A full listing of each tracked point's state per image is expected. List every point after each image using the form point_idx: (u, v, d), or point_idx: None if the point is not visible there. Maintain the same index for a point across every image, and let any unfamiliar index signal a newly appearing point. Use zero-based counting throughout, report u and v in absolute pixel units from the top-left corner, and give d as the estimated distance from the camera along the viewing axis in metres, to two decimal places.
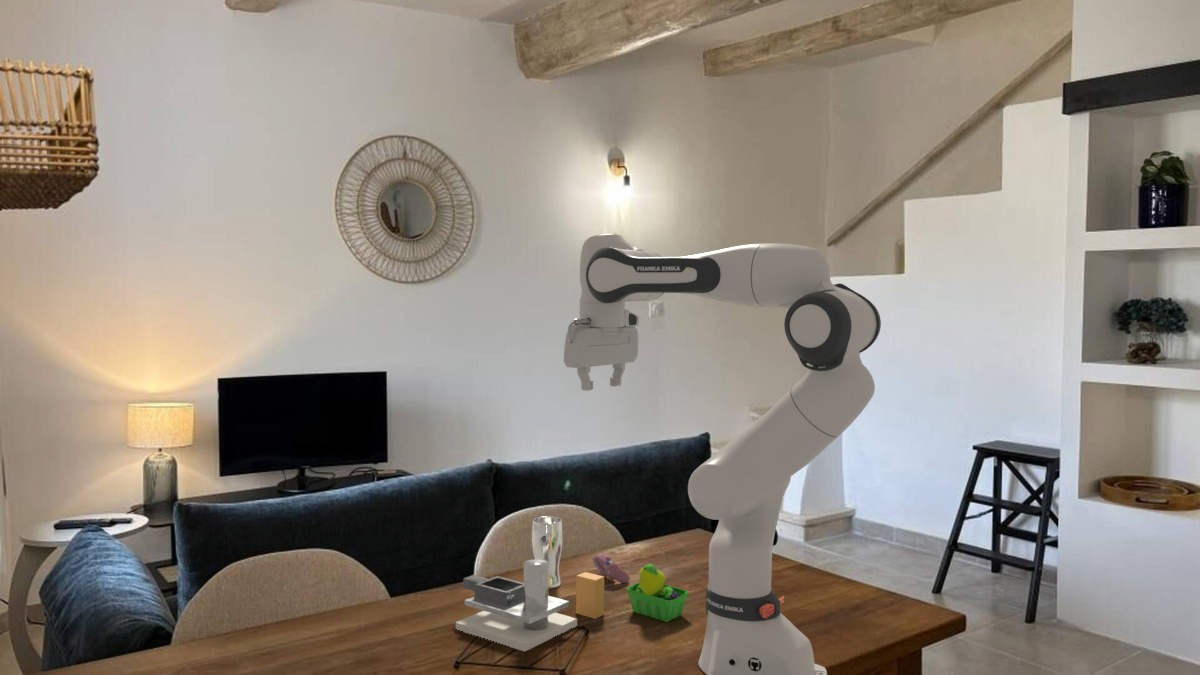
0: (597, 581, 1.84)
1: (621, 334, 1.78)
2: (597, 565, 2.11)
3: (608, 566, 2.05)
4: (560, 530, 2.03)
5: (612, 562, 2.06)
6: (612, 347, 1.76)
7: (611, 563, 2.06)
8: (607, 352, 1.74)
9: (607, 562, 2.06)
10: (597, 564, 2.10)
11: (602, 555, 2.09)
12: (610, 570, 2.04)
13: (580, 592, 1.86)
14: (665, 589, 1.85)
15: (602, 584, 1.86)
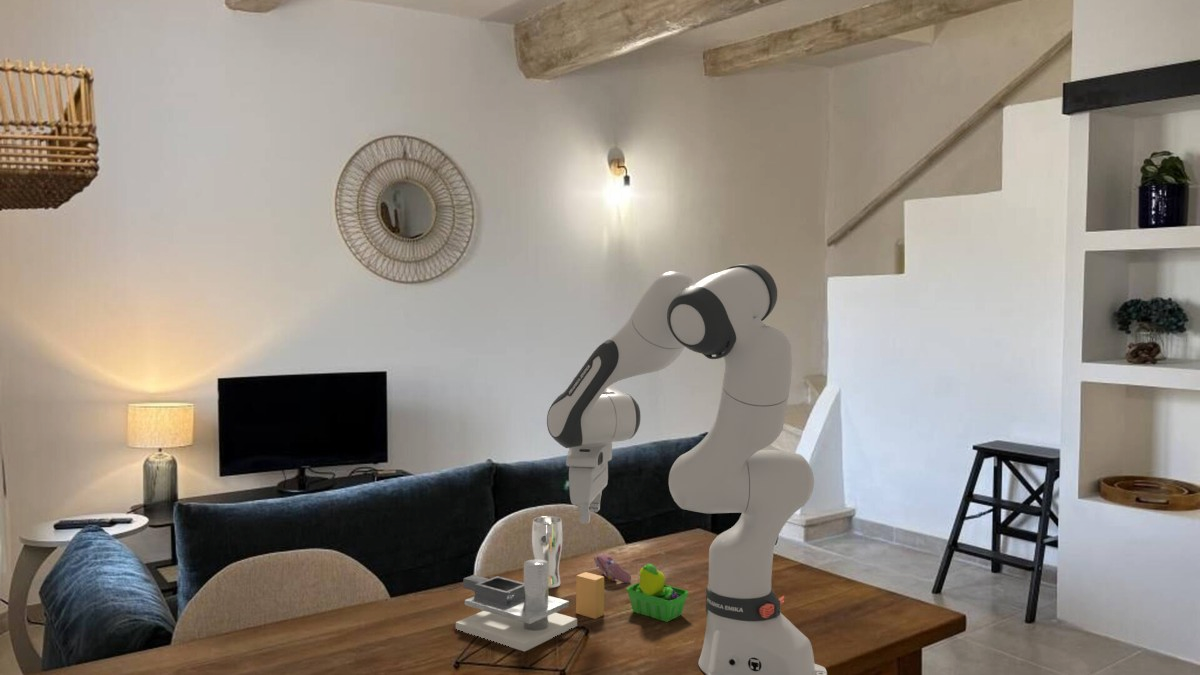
0: (597, 581, 1.84)
1: None
2: (598, 565, 2.11)
3: (610, 566, 2.05)
4: (560, 530, 2.03)
5: (614, 562, 2.06)
6: None
7: (613, 563, 2.06)
8: None
9: (609, 562, 2.06)
10: (598, 564, 2.11)
11: (604, 555, 2.09)
12: (612, 570, 2.05)
13: (580, 592, 1.86)
14: (665, 589, 1.85)
15: (602, 584, 1.86)
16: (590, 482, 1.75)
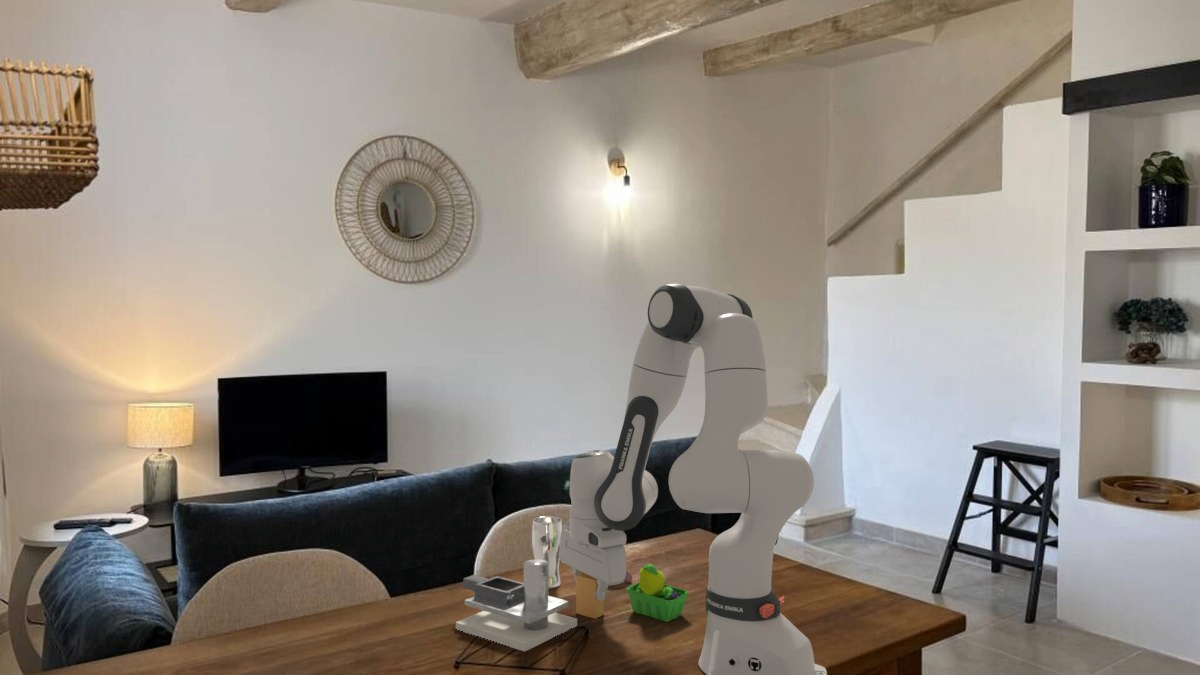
0: None
1: (592, 550, 1.82)
2: None
3: None
4: (560, 530, 2.03)
5: None
6: (586, 558, 1.84)
7: None
8: (581, 560, 1.86)
9: None
10: None
11: None
12: None
13: (580, 592, 1.86)
14: (665, 589, 1.85)
15: None
16: (625, 559, 1.79)
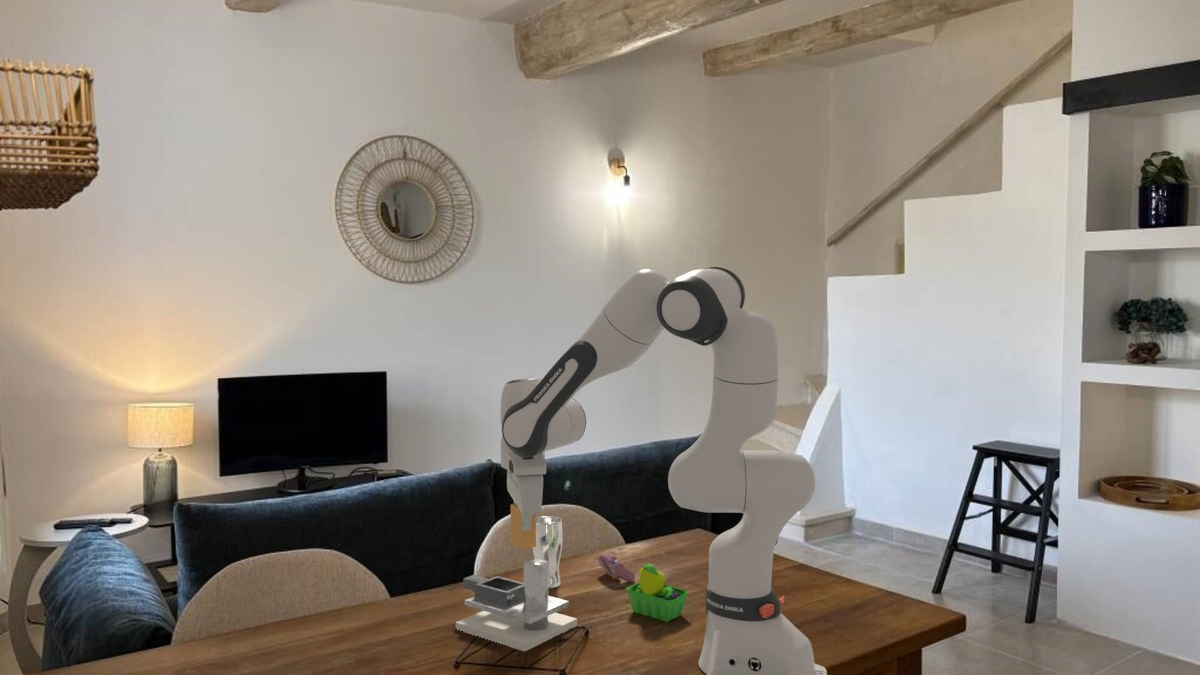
0: None
1: None
2: (602, 564, 2.11)
3: (614, 565, 2.06)
4: (560, 530, 2.03)
5: (618, 561, 2.07)
6: (515, 487, 1.79)
7: (617, 562, 2.06)
8: (513, 489, 1.81)
9: (613, 561, 2.06)
10: (602, 563, 2.11)
11: (607, 554, 2.10)
12: (616, 569, 2.05)
13: (513, 522, 1.82)
14: (665, 589, 1.85)
15: (533, 515, 1.80)
16: (542, 490, 1.72)
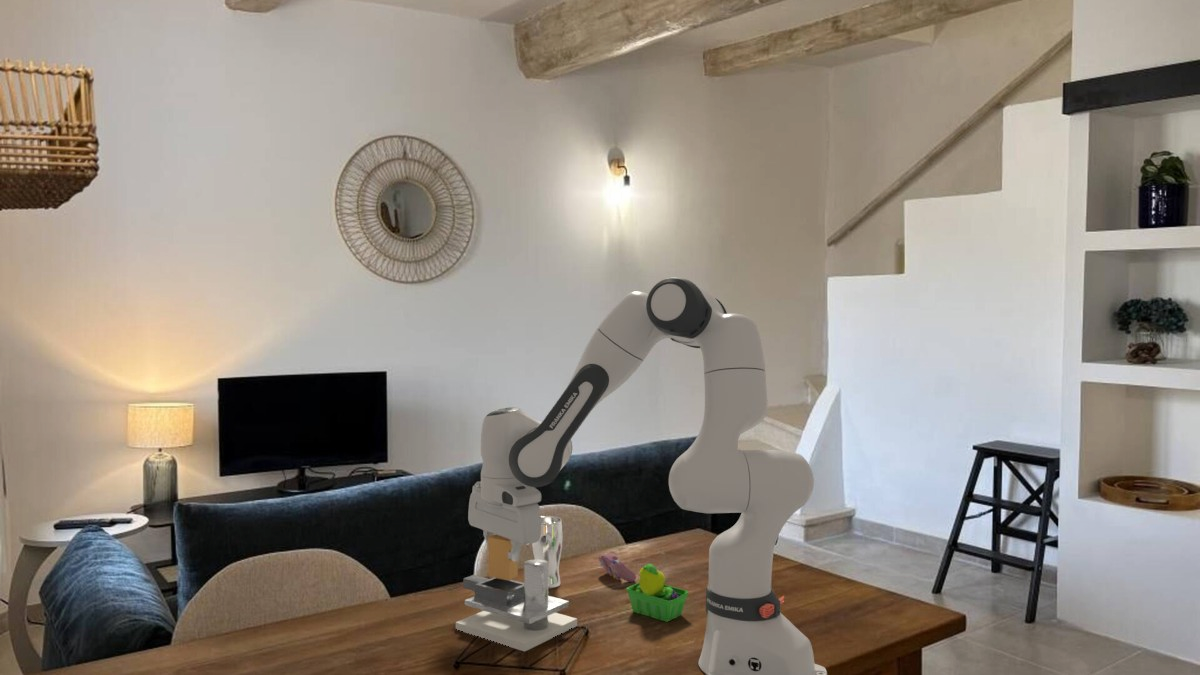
0: (510, 541, 1.79)
1: (505, 509, 1.76)
2: (603, 564, 2.11)
3: (615, 565, 2.06)
4: (560, 530, 2.03)
5: (619, 561, 2.07)
6: (499, 519, 1.78)
7: (618, 562, 2.06)
8: (493, 522, 1.80)
9: (614, 561, 2.07)
10: (603, 563, 2.11)
11: (608, 554, 2.10)
12: (617, 569, 2.05)
13: (492, 554, 1.80)
14: (665, 589, 1.85)
15: None
16: (540, 517, 1.75)
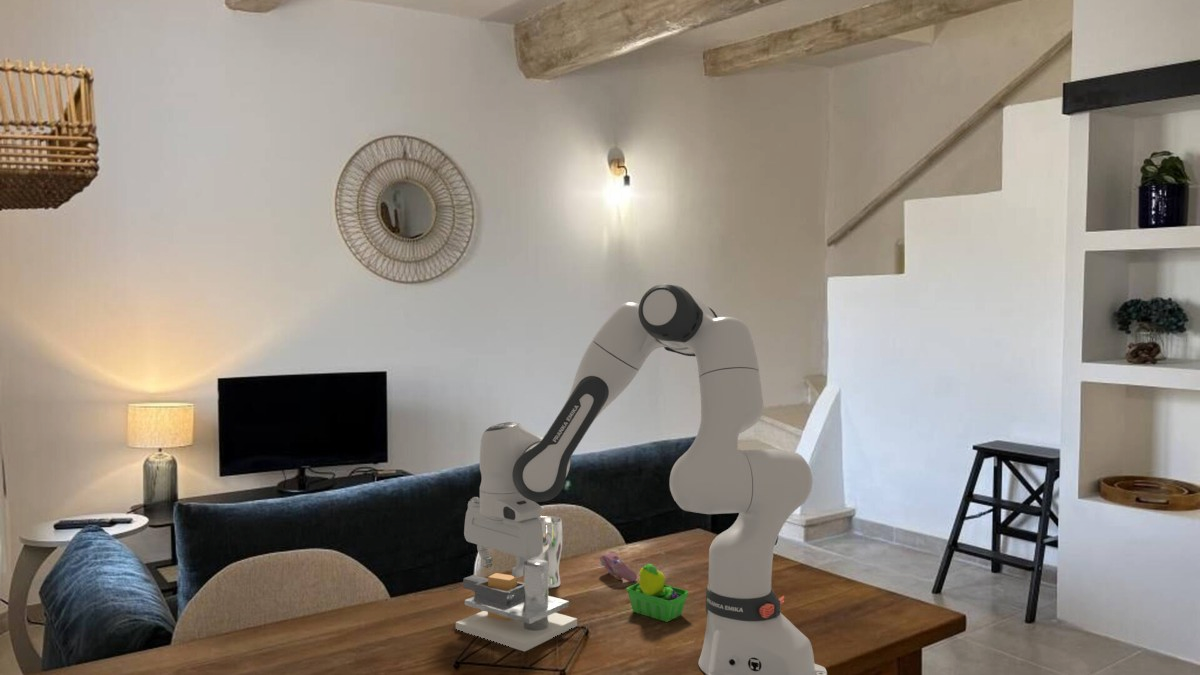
0: (510, 581, 1.79)
1: (506, 524, 1.76)
2: (604, 564, 2.12)
3: (616, 565, 2.06)
4: (560, 530, 2.03)
5: (620, 561, 2.07)
6: (498, 534, 1.78)
7: (619, 562, 2.07)
8: (492, 537, 1.79)
9: (615, 561, 2.07)
10: (604, 563, 2.11)
11: (609, 554, 2.10)
12: (618, 569, 2.06)
13: None
14: (665, 589, 1.85)
15: (515, 584, 1.81)
16: (542, 532, 1.75)
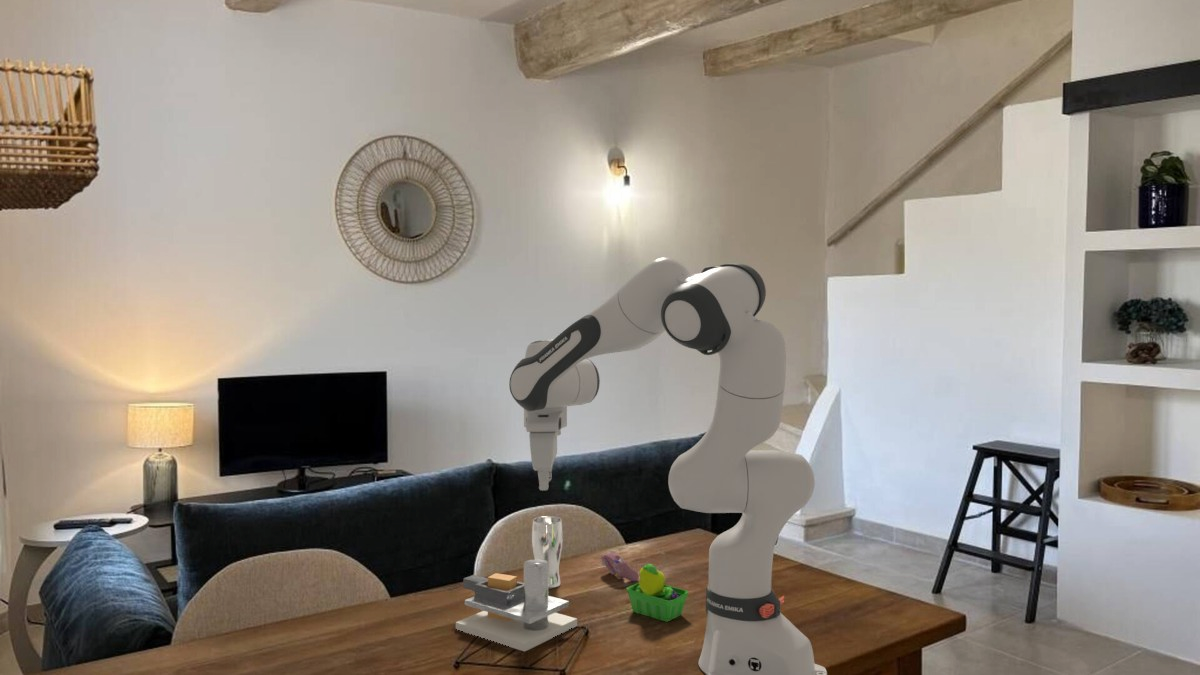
0: (510, 581, 1.79)
1: None
2: (606, 563, 2.12)
3: (618, 564, 2.06)
4: (560, 530, 2.03)
5: (621, 560, 2.07)
6: None
7: (621, 561, 2.07)
8: None
9: (617, 560, 2.07)
10: (606, 562, 2.12)
11: (611, 553, 2.10)
12: (620, 568, 2.06)
13: None
14: (665, 589, 1.85)
15: (515, 584, 1.81)
16: (552, 446, 1.75)
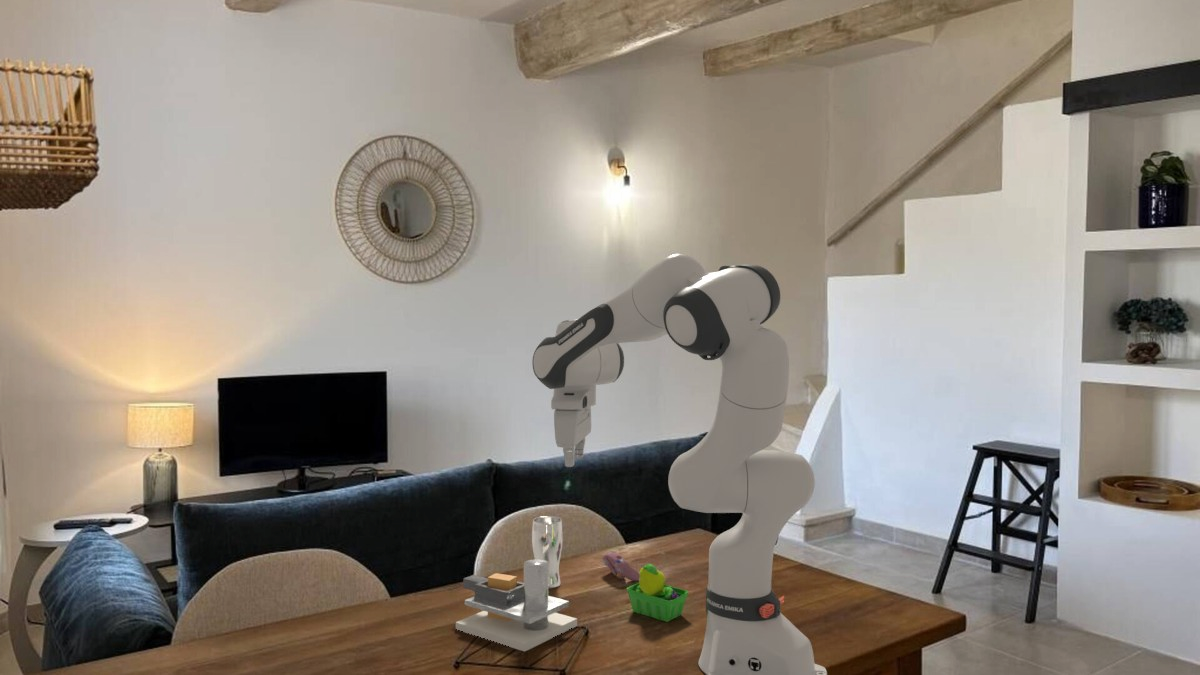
0: (510, 581, 1.79)
1: None
2: (607, 563, 2.12)
3: (619, 564, 2.06)
4: (560, 530, 2.03)
5: (623, 560, 2.07)
6: None
7: (622, 561, 2.07)
8: None
9: (618, 560, 2.07)
10: (607, 562, 2.12)
11: (612, 553, 2.10)
12: (621, 568, 2.06)
13: None
14: (665, 589, 1.85)
15: (515, 584, 1.81)
16: (575, 424, 1.79)
